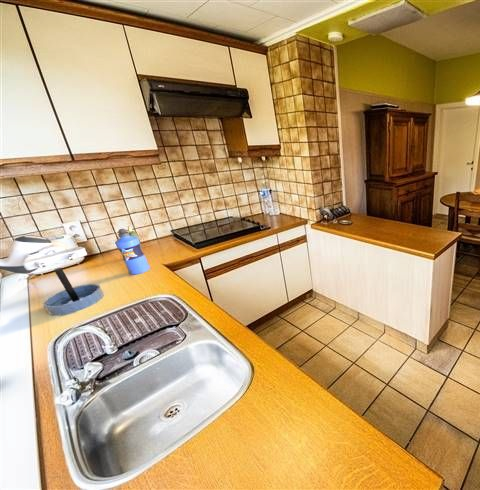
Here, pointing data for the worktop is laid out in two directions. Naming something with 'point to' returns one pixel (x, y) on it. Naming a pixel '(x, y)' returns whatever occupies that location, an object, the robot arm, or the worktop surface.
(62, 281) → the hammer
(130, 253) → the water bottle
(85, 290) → the blue grey round bowl
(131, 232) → the vegetable
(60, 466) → the worktop surface
